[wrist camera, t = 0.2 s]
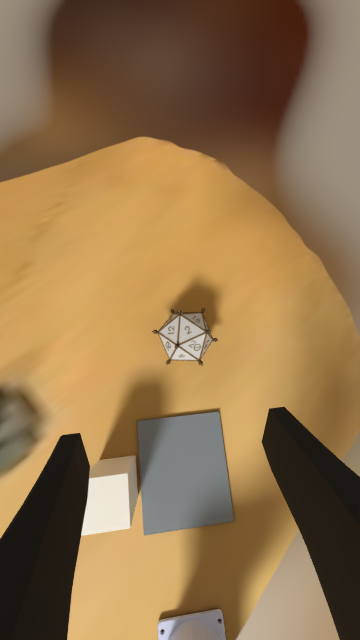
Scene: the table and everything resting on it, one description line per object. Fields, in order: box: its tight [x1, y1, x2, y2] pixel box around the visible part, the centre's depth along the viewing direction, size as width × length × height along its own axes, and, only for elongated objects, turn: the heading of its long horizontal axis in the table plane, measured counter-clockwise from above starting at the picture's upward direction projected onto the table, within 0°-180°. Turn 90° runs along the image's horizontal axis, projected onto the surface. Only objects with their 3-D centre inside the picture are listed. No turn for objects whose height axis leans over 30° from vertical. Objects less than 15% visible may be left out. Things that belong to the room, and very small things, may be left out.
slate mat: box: [137, 411, 234, 535], centre depth 38 cm, size 14×12×1 cm
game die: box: [152, 308, 218, 366], centre depth 40 cm, size 9×8×10 cm
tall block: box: [81, 455, 138, 536], centre depth 33 cm, size 5×5×10 cm
